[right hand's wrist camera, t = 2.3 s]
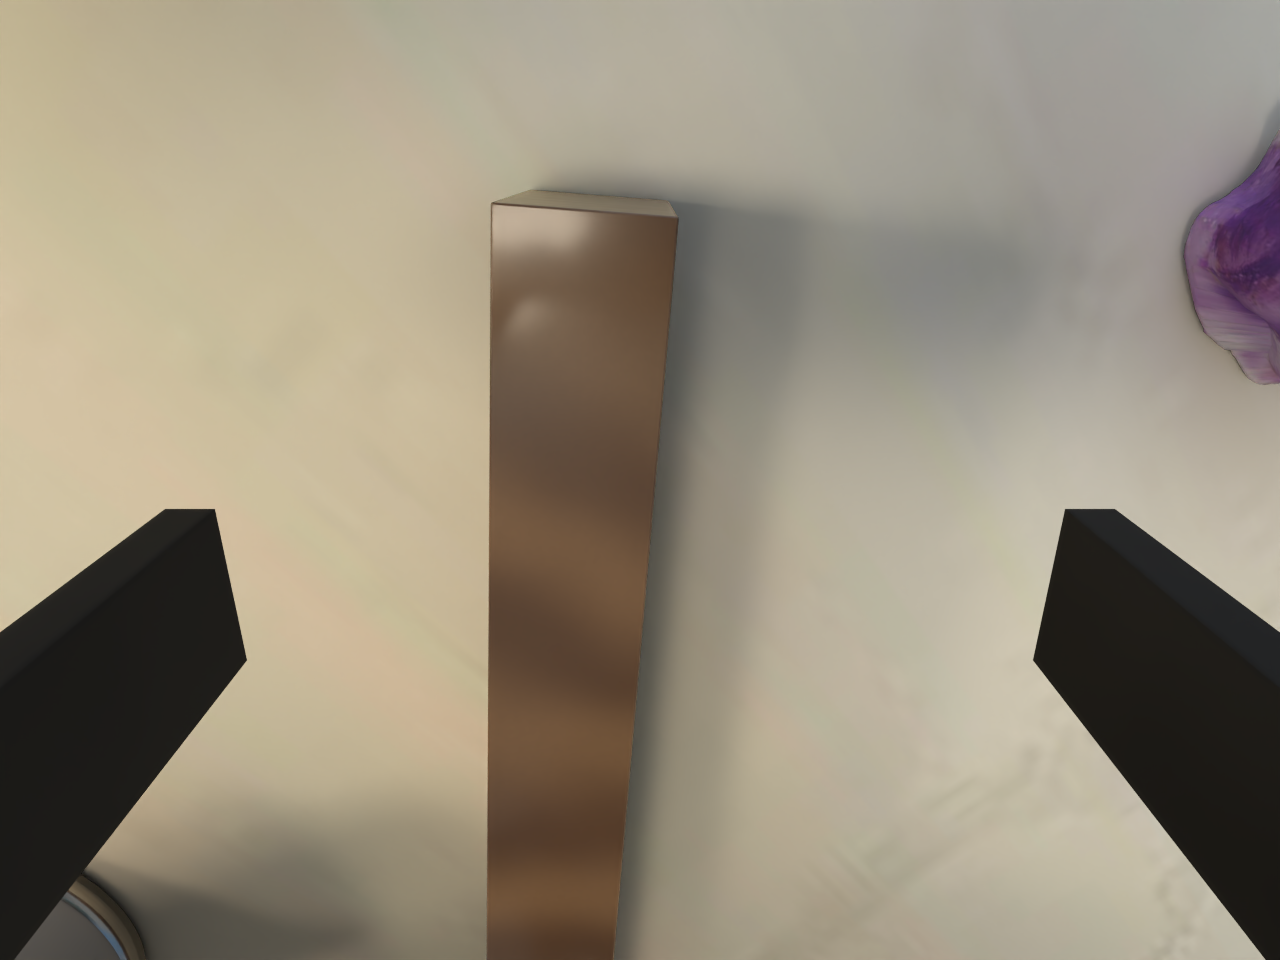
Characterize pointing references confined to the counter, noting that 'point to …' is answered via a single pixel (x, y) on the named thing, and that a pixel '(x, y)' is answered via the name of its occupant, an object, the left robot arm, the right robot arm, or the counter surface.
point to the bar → (568, 553)
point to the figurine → (1241, 270)
